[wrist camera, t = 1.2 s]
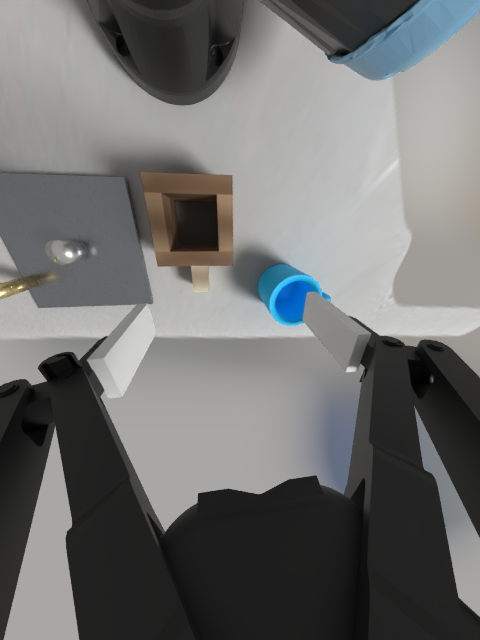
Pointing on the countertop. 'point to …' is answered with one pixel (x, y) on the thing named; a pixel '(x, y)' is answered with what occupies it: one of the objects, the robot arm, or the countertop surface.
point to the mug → (287, 293)
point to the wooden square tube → (164, 225)
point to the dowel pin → (17, 286)
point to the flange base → (76, 220)
